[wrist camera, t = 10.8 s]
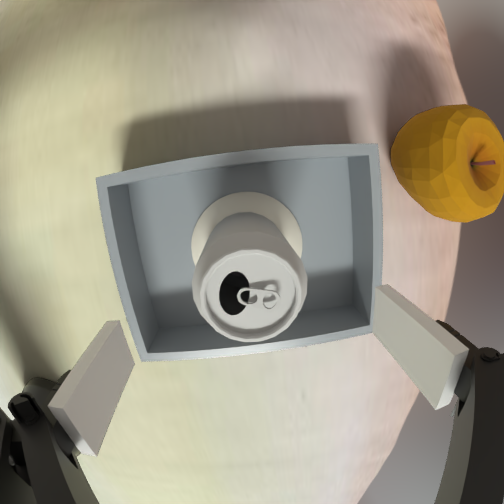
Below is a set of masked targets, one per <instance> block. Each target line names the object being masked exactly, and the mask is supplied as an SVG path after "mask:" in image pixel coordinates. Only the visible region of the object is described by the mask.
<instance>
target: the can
mask: <svg viewBox="0 0 504 504" xmlns="http://www.w3.org/2000/svg"><path fill="white" fill-rule="evenodd" d="M192 290H193V299H194V302H195V304H196V306H197V308H198V310H199V312H200V314H201V315H202V316H203V317H204V319H205V320H206V321H207V322H208V323H209V324H210V325H211V326H212V327H213V328H214V329H215V330H216V331H217V332H219V333H220V334H222V335H224V336H226V337H228V338H229V339H233V340H237V341H242V342H260V341H263V340H266V339H269V338H272V337H275V336H277V335H278V334H280V333H281V332H282V331H284V330H285V329H287V328H288V327H289V326H290V324H291V323H292V322H293V321H294V319H295V318H296V317H297V315H298V313H299V311H300V310H301V308H302V305H303V303H304V300H305V298H306V295H307V275H306V271H305V268H304V265H303V262H302V260H301V259H300V257H299V256H298V255H297V253H296V252H295V251H294V249H293V248H292V247H291V245H290V244H289V242H288V241H287V240H286V238H285V237H284V236H283V234H282V233H281V232H280V230H279V229H278V228H277V226H276V225H275V224H274V223H273V222H272V221H271V220H269V219H268V218H266V217H265V216H263V215H260V214H256V213H253V212H238V213H235V214H232V215H230V216H227V217H225V218H224V219H223V220H222V221H220V222H219V223H218V224H217V225H216V226H215V227H214V229H213V231H212V232H211V234H210V235H209V237H208V240H207V242H206V244H205V246H204V248H203V251H202V253H201V255H200V257H199V259H198V262H197V264H196V267H195V271H194V275H193V279H192Z"/></svg>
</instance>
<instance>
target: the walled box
mask: <svg viewBox="0 0 504 504" xmlns="http://www.w3.org/2000/svg"><path fill="white" fill-rule="evenodd" d="M96 184H97V191H98V198H99V204H100V210H101V216H102V221H103V227H104V232H105V237H106V242H107V246H108V251H109V255H110V260H111V264H112V268H113V272H114V276H115V280H116V284H117V287H118V291H119V295H120V298H121V302H122V305H123V308H124V312H125V315H126V318H127V321H128V324H129V328H130V331H131V334H132V337H133V340H134V342H135V345H136V348H137V351H138V354H139V356H140V359H141V362H142V361H173V360H191V359H205V358H217V357H228V356H238V355H247V354H255V353H263V352H270V351H278V350H284V349H291V348H297V347H303V346H309V345H315V344H321V343H326V342H331V341H336V340H341V339H346V338H351V337H356V336H360V335H365V334H369V333H372V330H373V318H374V304H375V287H377V286H382V261H383V214H382V189H381V174H380V161H379V151H378V144H324V145H304V146H289V147H276V148H265V149H255V150H246V151H237V152H229V153H221V154H214V155H207V156H200V157H194V158H188V159H182V160H176V161H171V162H165V163H160V164H155V165H150V166H145V167H140V168H135V169H131V170H126V171H122V172H118V173H113V174H109V175H105V176H101V177H97V178H96ZM238 212H253V213H256V214H260V215H263V216H265V217H266V218H268V219H269V220H271V221H272V222H273V223H274V224H275V225H276V226H277V228H278V229H279V230H280V232H281V233H282V234H283V236H284V237H285V238H286V240H287V241H288V242H289V244H290V245H291V247H292V248H293V249H294V251H295V252H296V253H297V255H298V256H299V257H300V259H301V260H302V262H303V265H304V268H305V271H306V275H307V295H306V298H305V300H304V303H303V305H302V308H301V310H300V311H299V313H298V315H297V317H296V318H295V319H294V321H293V322H292V323H291V324H290V326H289V327H288V328H287V329H285V330H284V331H282V332H281V333H280V334H278V335H277V336H275V337H272V338H269V339H266V340H263V341H260V342H242V341H237V340H233V339H229V338H228V337H226V336H224V335H222V334H220V333H219V332H217V331H216V330H215V329H214V328H213V327H212V326H211V325H210V324H209V323H208V322H207V321H206V320H205V319H204V317H203V316H202V315H201V314H200V312H199V310H198V308H197V306H196V304H195V302H194V299H193V290H192V279H193V275H194V271H195V267H196V264H197V262H198V259H199V257H200V255H201V253H202V251H203V248H204V246H205V244H206V242H207V240H208V237H209V235H210V234H211V232H212V231H213V229H214V227H215V226H216V225H217V224H218V223H219V222H220V221H222V220H223V219H224V218H225V217H227V216H230V215H232V214H235V213H238Z"/></svg>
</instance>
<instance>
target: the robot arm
mask: <svg viewBox="0 0 504 504" xmlns="http://www.w3.org/2000/svg"><path fill="white" fill-rule="evenodd" d="M372 333H373V334H374V335H375V336H376V337H377V338H378V340H379V341H380V342H381V343H382V344H383V346H384V347H385V348H386V349H387V350H388V352H389V353H390V354H391V355H392V356H393V358H394V359H395V360H396V361H397V363H398V364H399V365H400V366H401V367H402V369H403V370H404V371H405V372H406V374H407V375H408V376H409V377H410V378H411V380H412V381H413V382H414V383H415V385H416V386H417V387H418V388H419V390H420V391H421V392H422V394H423V395H424V396H425V397H426V399H427V400H428V401H429V402H430V404H431V405H432V406H433V408H434V409H435V410H437V409H439V408H441V407H443V406H445V405H447V404H449V403H450V401H451V399H452V396H453V394H454V393H455V394H456V395H457V396H458V397H459V398H458V400H457V402H456V405H455V407H454V409H453V412H452V414H451V416H453V415H454V413H455V417H454V424H453V430H452V437H451V441H450V447H449V452H448V456H447V461H446V465H445V469H444V473H443V477H442V480H441V484H440V488H439V491H438V494H437V497H436V500H435V503H434V504H502V503H503V497H504V353H503V354H500V353H499V352H498V351H497V350H495V349H493V348H488V347H484V348H480V349H478V348H477V347H476V346H475V345H473V344H472V343H471V342H470V341H468V340H467V339H466V338H465V337H464V336H462V335H460V333H459V332H457V331H456V330H454V329H453V328H452V327H451V326H450V325H448V324H447V323H444V322H442V321H440V320H436V321H435V320H433V319H432V318H431V317H430V316H428V315H427V314H426V313H424V312H423V311H422V310H421V309H419V308H418V307H417V306H416V305H414V304H413V303H412V302H410V301H409V300H408V299H407V298H405V297H404V296H403V295H401V294H400V293H399V292H397V291H396V290H395V289H394V288H392V287H391V286H390V285H388V284H386V285H382V286H377V287H375V304H374V318H373V330H372ZM134 365H135V363H134V360H133V358H132V355H131V352H130V350H129V347H128V344H127V341H126V338H125V335H124V333H123V330H122V327H121V324H120V320H119V321H107V322H106V323H105V324H104V326H103V327H102V328H101V330H100V331H99V332H98V334H97V335H96V337H95V338H94V339H93V341H92V342H91V343H90V345H89V346H88V347H87V349H86V350H85V352H84V353H83V354H82V356H81V357H80V359H79V360H78V361H77V363H76V364H75V366H74V367H73V369H72V370H68V371H67V372H66V373H65V374H63V375H62V376H61V377H60V379H59V380H58V382H57V383H54V382H52V381H49V380H46V379H42V378H34V379H31V380H30V381H29V382H28V383H27V385H26V386H25V387H24V389H23V391H22V393H19V394H17V395H15V396H14V397H13V398H12V399H11V400H10V402H9V403H8V409H9V410H10V412H11V413H12V415H13V416H14V417H15V419H14V420H10V418H9V417H8V416H7V415H6V414H5V413H4V411H3V410H2V409H1V408H0V504H99V502H98V500H97V498H96V497H95V495H94V493H93V491H92V489H91V487H90V485H89V483H88V481H87V479H86V477H85V475H84V473H83V471H82V469H81V467H80V464H79V462H78V460H77V456H78V455H79V454H80V453H82V454H85V455H91V456H96V457H97V455H98V453H99V450H100V447H101V445H102V442H103V439H104V437H105V434H106V432H107V429H108V427H109V424H110V422H111V419H112V417H113V414H114V412H115V409H116V407H117V404H118V402H119V399H120V397H121V395H122V392H123V390H124V388H125V385H126V383H127V381H128V378H129V376H130V374H131V372H132V369H133V367H134Z"/></svg>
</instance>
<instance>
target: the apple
mask: <svg viewBox="0 0 504 504" xmlns="http://www.w3.org/2000/svg"><path fill="white" fill-rule="evenodd" d="M391 165H392V167H393V170H394V172H395V174H396V177H397V179H398V181H399V183H400V184H401V185H402V186H403V188H404V189H405V190H406V191H407V192H408V194H409V195H410V196H411V197H412V198H413V199H414V200H415V201H416V202H418V203H419V204H420V205H421V206H422V207H423V208H424V209H425V210H426V211H427V212H429V213H431V214H432V215H434V216H436V217H439V218H442V219H446V220H449V221H454V222H469V221H472V220H476V219H479V218H482V217H484V216H486V215H489V214H491V213H493V212H494V211H495V209H496V208H497V206H498V204H499V202H500V200H501V198H502V196H503V193H504V141H503V139H502V137H501V135H500V133H499V131H498V129H497V127H496V125H495V124H494V123H493V121H492V120H491V119H490V118H489V117H488V116H487V114H486V113H485V112H483V111H481V110H478V109H476V108H474V107H471V106H469V105H466V104H462V105H448V106H440V107H436V108H432V109H430V110H427V111H425V112H422V113H419V114H417V115H415V116H414V117H413V118H411V119H410V120H409V121H408V122H407V123H406V124H405V125H404V126H403V127H402V128H401V130H400V131H399V132H398V134H397V136H396V138H395V141H394V143H393V145H392V148H391Z"/></svg>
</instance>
